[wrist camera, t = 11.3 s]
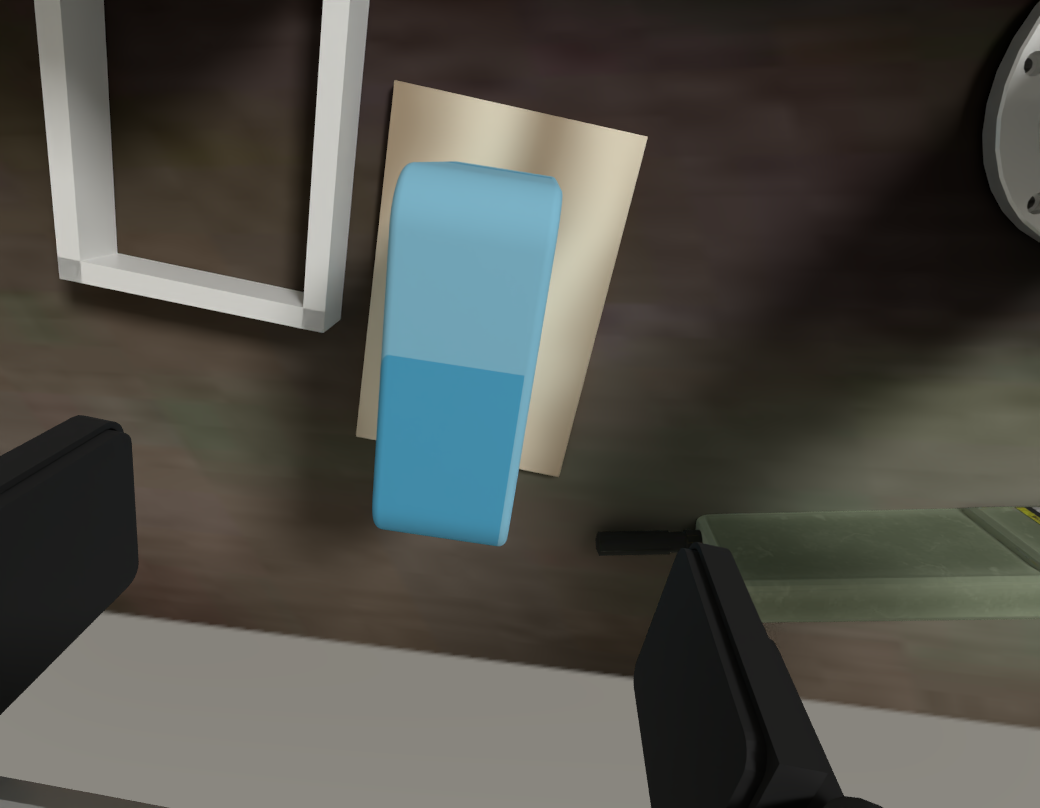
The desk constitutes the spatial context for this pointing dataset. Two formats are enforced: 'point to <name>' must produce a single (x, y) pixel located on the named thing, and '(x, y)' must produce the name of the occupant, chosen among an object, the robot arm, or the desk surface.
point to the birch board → (579, 249)
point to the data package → (460, 345)
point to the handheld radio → (871, 562)
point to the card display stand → (90, 187)
